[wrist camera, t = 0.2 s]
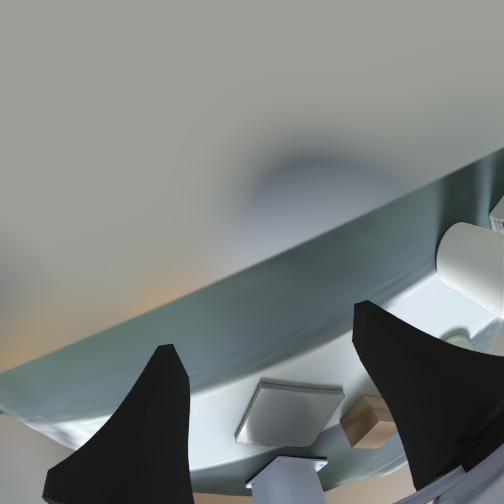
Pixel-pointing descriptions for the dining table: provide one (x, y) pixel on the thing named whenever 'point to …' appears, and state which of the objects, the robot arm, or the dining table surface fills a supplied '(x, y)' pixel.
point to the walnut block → (368, 423)
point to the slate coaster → (287, 415)
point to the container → (498, 217)
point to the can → (474, 264)
